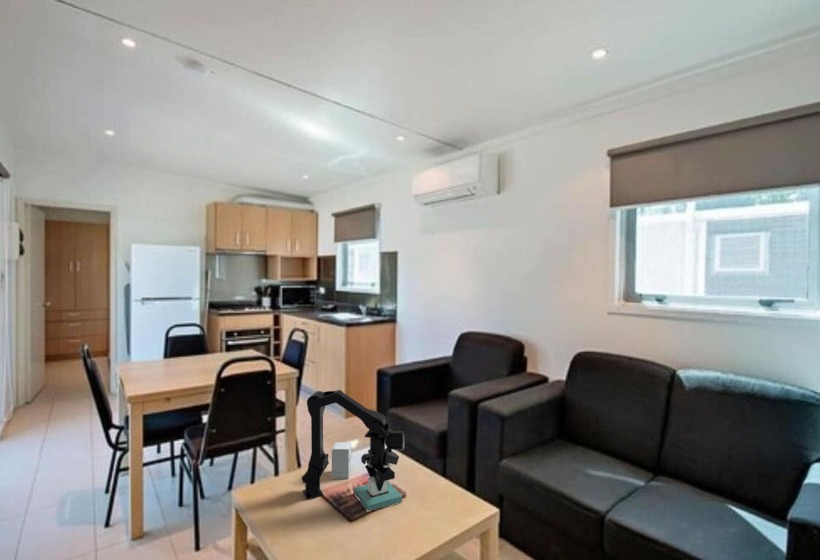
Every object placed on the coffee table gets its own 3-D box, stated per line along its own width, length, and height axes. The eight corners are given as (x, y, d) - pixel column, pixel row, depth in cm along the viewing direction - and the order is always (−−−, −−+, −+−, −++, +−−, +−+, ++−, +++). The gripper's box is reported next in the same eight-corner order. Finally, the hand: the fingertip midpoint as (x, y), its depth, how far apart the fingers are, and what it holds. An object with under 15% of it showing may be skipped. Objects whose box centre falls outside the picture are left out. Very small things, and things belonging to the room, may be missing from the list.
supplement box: (348, 479, 175) (348, 449, 175) (331, 478, 175) (331, 449, 175) (351, 470, 183) (351, 442, 182) (334, 470, 183) (334, 441, 182)
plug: (368, 490, 161) (368, 477, 161) (382, 486, 164) (382, 473, 164) (372, 495, 157) (372, 482, 157) (386, 491, 160) (386, 478, 160)
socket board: (353, 494, 164) (353, 487, 163) (386, 485, 170) (386, 479, 170) (367, 512, 151) (367, 505, 151) (402, 502, 158) (402, 495, 158)
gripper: (407, 453, 156) (407, 494, 156) (386, 435, 172) (385, 472, 173) (380, 459, 150) (380, 502, 151) (360, 440, 167) (360, 479, 167)
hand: (377, 488), depth 161 cm, fingers closed on plug, 4 cm apart
